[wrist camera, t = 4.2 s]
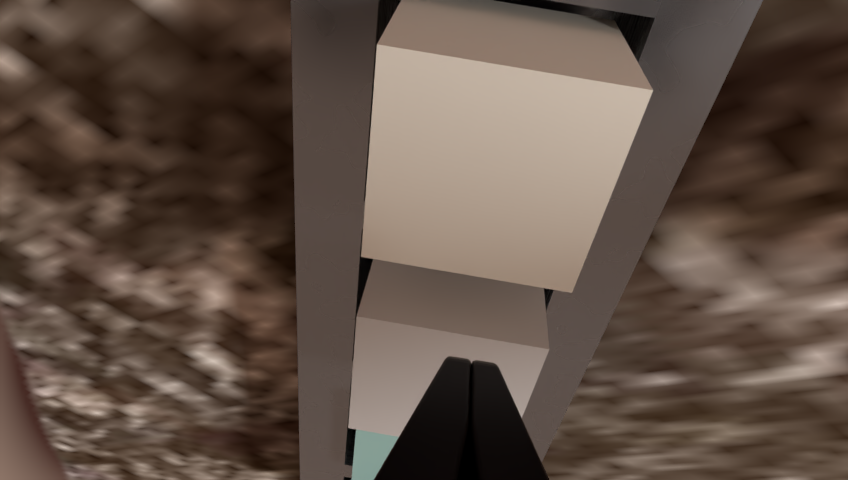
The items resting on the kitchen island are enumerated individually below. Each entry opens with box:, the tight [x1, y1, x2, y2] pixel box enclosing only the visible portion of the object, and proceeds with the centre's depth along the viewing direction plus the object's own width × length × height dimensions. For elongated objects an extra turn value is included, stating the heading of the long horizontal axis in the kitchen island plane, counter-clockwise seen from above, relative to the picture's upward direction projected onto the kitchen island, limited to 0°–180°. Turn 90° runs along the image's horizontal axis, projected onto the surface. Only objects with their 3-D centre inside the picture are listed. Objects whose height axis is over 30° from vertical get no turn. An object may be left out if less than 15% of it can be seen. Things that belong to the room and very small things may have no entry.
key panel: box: [291, 0, 763, 480], centre depth 22 cm, size 10×30×4 cm, turn 173°
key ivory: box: [361, 0, 653, 293], centre depth 13 cm, size 5×5×4 cm
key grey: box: [348, 259, 549, 437], centre depth 17 cm, size 5×5×4 cm
